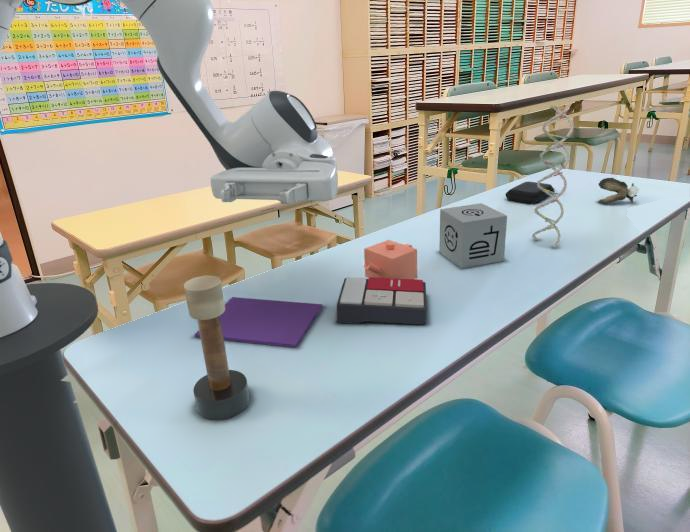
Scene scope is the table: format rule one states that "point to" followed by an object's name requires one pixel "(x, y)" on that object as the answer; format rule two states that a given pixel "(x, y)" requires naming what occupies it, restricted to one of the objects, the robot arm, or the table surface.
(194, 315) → the wooden rod on disc
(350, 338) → the table surface
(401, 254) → the pink cube teapot
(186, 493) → the table surface
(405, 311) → the dark paneled box
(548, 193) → the dna model
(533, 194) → the carrying case
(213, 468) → the table surface
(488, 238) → the icon cube
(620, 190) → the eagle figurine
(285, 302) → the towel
